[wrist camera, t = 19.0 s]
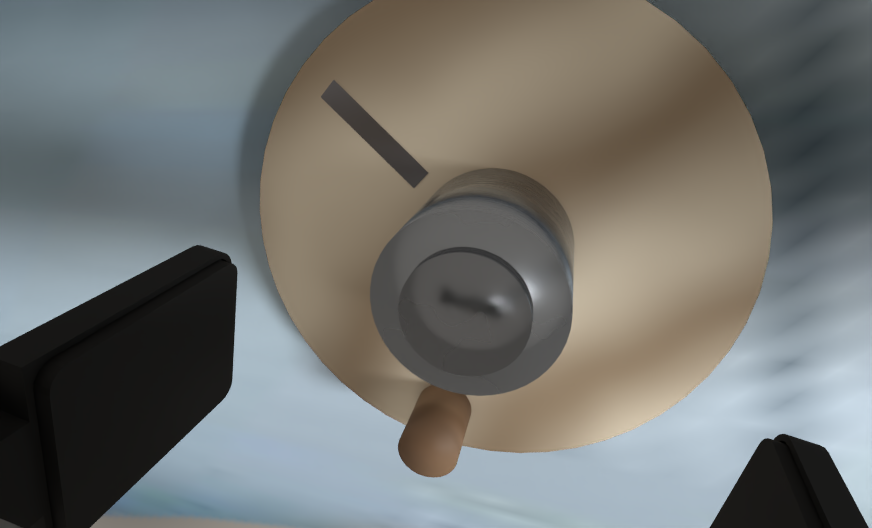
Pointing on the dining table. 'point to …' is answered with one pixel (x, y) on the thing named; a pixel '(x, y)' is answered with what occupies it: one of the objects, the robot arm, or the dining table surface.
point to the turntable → (553, 168)
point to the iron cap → (478, 284)
